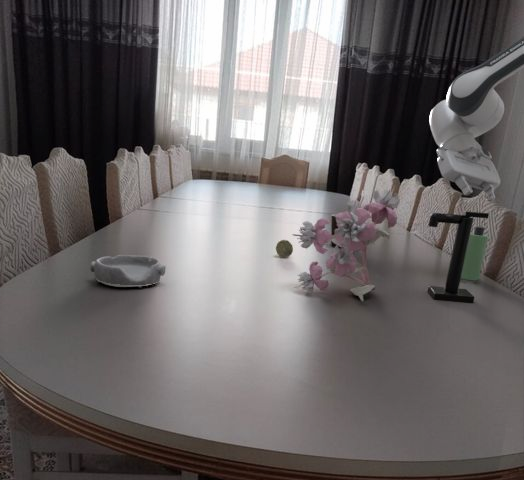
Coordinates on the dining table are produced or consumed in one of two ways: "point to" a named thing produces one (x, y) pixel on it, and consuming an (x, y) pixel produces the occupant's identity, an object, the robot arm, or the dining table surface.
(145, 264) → the dish
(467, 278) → the soap bottle
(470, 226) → the faucet
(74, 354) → the dining table surface
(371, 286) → the flower
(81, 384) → the dining table surface
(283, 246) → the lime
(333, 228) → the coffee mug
